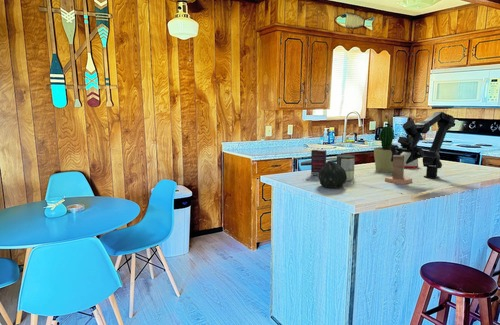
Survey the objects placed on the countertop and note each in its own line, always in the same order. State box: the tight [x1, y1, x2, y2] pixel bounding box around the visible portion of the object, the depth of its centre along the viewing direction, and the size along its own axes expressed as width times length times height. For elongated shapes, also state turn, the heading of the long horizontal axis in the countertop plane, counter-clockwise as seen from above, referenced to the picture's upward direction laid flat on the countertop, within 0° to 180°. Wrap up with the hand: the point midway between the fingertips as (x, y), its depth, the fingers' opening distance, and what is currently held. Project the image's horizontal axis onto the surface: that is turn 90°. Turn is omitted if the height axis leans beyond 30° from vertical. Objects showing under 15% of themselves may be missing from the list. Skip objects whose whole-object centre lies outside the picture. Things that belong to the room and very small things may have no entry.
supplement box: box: [310, 149, 327, 177], centre depth 215 cm, size 9×5×16 cm, turn 65°
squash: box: [317, 160, 347, 189], centre depth 184 cm, size 14×15×15 cm
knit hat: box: [400, 152, 419, 170], centre depth 242 cm, size 14×14×15 cm
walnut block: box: [391, 154, 405, 179], centre depth 189 cm, size 5×5×12 cm
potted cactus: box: [373, 125, 395, 173], centre depth 227 cm, size 15×15×30 cm
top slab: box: [384, 176, 413, 185], centre depth 190 cm, size 10×10×2 cm
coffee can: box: [336, 154, 356, 182], centre depth 202 cm, size 10×10×14 cm
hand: (398, 162), depth 188 cm, fingers open, 9 cm apart
